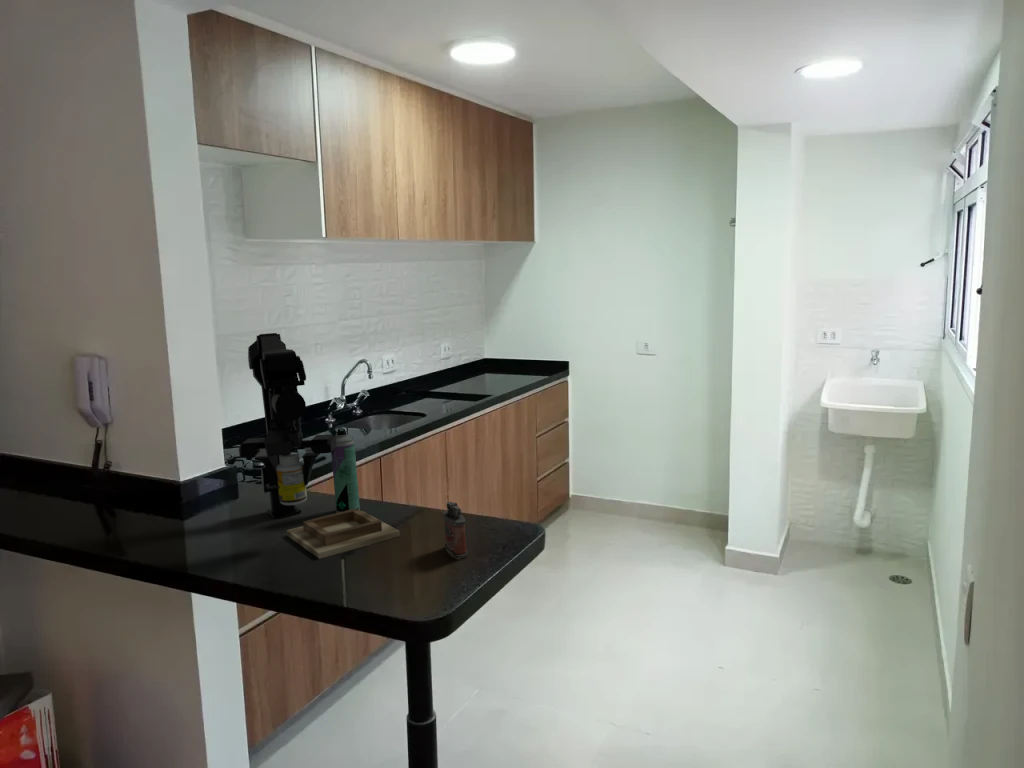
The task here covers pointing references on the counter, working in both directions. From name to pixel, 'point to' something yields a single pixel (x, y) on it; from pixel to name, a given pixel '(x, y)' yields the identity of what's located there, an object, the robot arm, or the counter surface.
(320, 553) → the holder board
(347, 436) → the spray can
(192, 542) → the counter surface
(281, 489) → the supplement bottle
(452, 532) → the lighter
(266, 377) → the robot arm
